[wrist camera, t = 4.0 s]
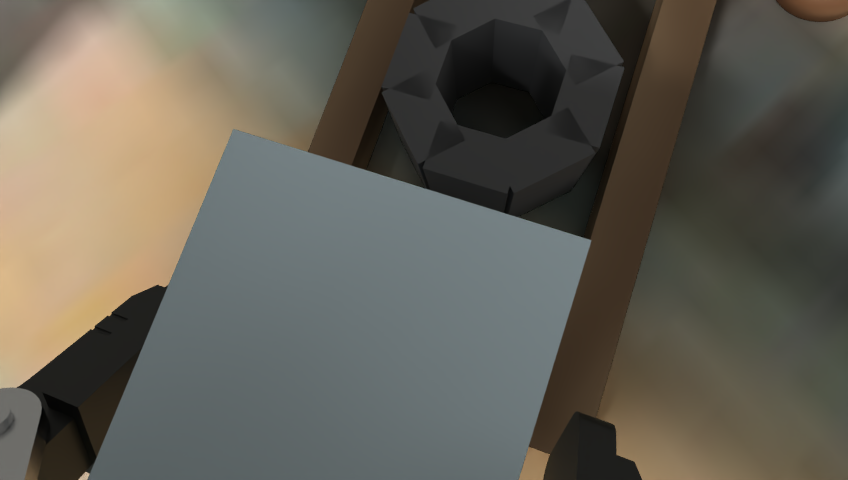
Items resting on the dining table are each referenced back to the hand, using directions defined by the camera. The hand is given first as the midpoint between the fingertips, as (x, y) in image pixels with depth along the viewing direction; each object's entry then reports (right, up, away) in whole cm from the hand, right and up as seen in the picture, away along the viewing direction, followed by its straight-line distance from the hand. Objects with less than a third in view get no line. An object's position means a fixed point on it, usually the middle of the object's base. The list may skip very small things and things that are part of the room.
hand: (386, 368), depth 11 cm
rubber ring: (+3, +7, +6) cm, 9 cm away
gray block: (+1, 0, +5) cm, 5 cm away
